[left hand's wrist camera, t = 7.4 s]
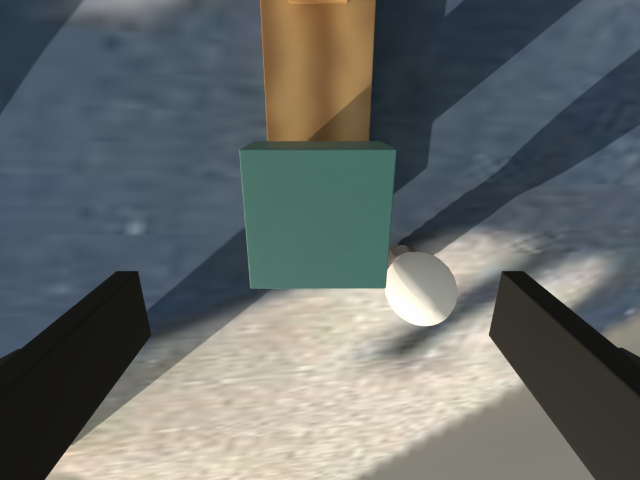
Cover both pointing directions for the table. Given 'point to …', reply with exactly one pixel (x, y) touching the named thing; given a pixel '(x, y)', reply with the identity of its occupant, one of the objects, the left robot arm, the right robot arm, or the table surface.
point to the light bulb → (419, 286)
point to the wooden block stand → (318, 68)
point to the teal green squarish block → (317, 213)
